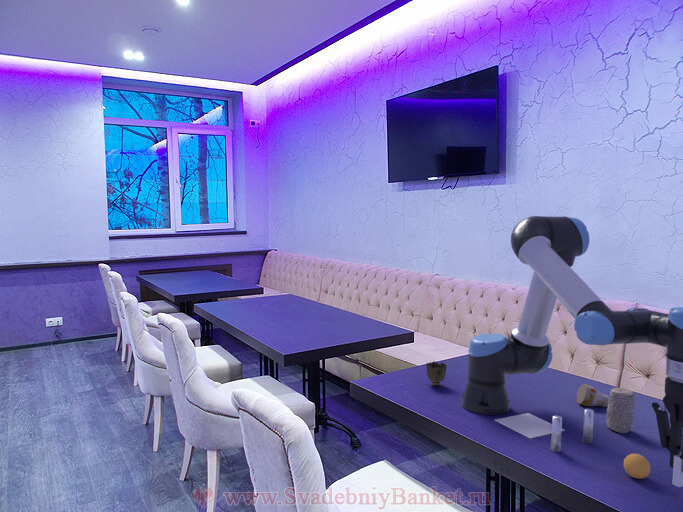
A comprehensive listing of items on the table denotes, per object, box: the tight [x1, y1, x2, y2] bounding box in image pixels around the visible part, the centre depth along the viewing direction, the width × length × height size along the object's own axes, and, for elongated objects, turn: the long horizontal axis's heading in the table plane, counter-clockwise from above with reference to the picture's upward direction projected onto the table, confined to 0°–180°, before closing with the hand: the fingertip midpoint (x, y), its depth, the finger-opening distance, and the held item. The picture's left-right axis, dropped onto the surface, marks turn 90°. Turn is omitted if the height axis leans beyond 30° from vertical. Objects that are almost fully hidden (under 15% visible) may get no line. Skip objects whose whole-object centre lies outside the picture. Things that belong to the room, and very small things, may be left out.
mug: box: [576, 383, 610, 408], centre depth 166 cm, size 8×10×10 cm
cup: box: [425, 360, 448, 387], centre depth 183 cm, size 8×7×8 cm
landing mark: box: [494, 412, 566, 440], centre depth 148 cm, size 14×14×1 cm
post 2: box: [582, 408, 595, 445], centre depth 137 cm, size 2×2×9 cm
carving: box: [605, 387, 636, 434], centre depth 146 cm, size 6×8×12 cm
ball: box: [623, 453, 651, 479], centre depth 119 cm, size 6×6×6 cm
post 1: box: [550, 415, 563, 453], centre depth 132 cm, size 2×2×9 cm
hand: (679, 484), depth 110 cm, fingers closed
